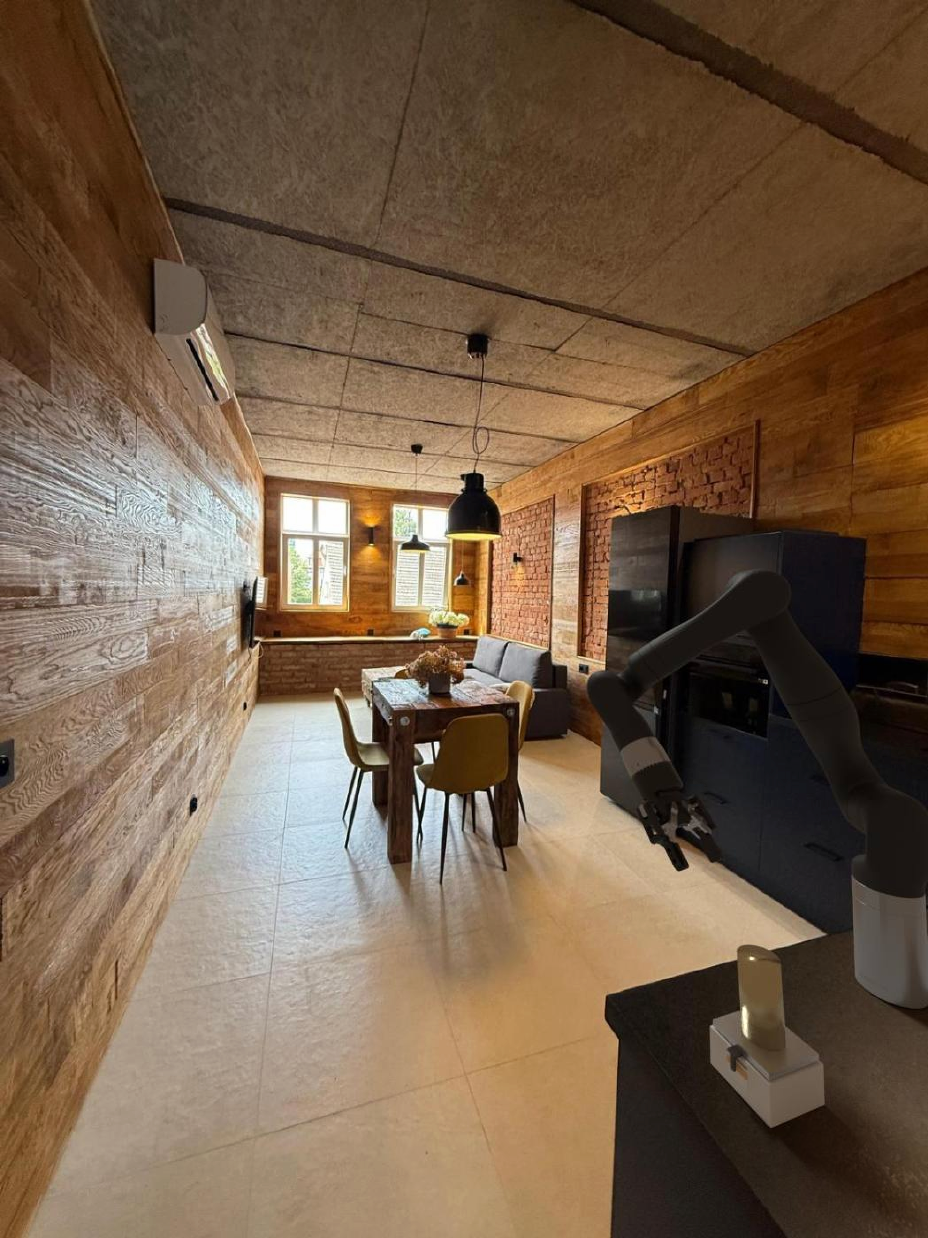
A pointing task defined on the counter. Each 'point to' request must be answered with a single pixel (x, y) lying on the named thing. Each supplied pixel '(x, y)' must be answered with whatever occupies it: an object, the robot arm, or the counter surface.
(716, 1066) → the white latched box
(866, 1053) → the counter surface
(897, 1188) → the counter surface
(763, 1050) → the box lid
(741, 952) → the disc
